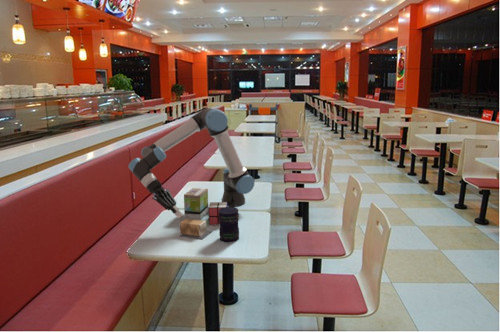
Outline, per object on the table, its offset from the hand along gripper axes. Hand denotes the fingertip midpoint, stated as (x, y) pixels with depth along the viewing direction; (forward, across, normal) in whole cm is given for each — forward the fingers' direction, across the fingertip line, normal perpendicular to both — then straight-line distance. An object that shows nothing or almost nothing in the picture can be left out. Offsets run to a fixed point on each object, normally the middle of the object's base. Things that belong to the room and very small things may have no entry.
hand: (180, 216), depth 206 cm
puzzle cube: (+15, -20, +2) cm, 25 cm away
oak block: (+4, 0, -3) cm, 5 cm away
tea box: (+3, -25, -10) cm, 27 cm away
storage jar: (+26, 0, +14) cm, 29 cm away
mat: (+12, 0, 0) cm, 12 cm away
